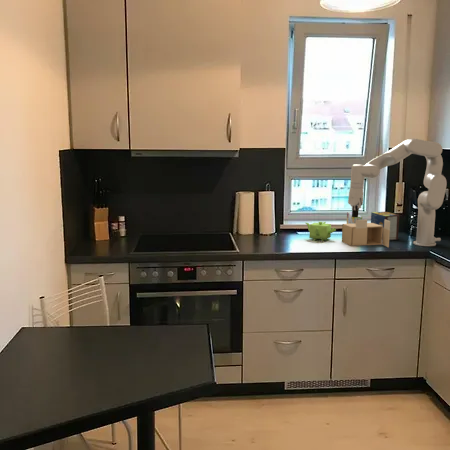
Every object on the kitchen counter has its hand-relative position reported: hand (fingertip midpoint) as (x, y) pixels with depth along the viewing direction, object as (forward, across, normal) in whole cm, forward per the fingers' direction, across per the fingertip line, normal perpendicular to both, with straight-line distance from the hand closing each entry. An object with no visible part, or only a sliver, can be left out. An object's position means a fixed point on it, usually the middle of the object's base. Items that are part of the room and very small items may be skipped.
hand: (354, 216), depth 311 cm
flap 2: (+16, +10, +16) cm, 24 cm away
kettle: (+17, -18, -13) cm, 28 cm away
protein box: (+16, -15, +29) cm, 36 cm away
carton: (+16, -2, +7) cm, 18 cm away
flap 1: (+16, +5, +2) cm, 17 cm away
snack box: (+17, -19, +10) cm, 27 cm away
